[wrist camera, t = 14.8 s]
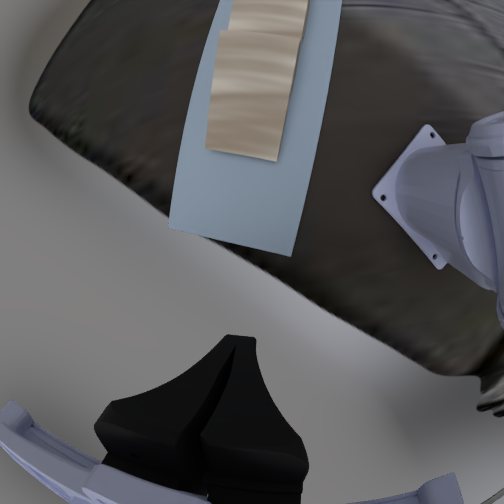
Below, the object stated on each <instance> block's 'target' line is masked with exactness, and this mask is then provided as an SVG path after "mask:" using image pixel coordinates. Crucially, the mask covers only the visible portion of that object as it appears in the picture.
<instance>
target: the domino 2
mask: <svg viewBox="0 0 504 504" xmlns="http://www.w3.org/2000/svg"><path fill="white" fill-rule="evenodd" d="M300 43H301V42H300V38H295V37H289V36H283V35H276V34H268V33H259V32H249V31H235V30H220V34H219V40H218V46H217V53H216V59H215V66H214V73H213V81H212V88H211V96H210V105H209V114H208V123H207V133H206V143H205V149H210V150H216V151H223V152H229V153H235V154H240V155H246V156H251V157H256V158H261V159H266V160H271V161H276V162H277V159H278V157H279V153H280V148H281V143H282V138H283V133H284V128H285V122H286V117H287V112H288V107H289V102H290V96H291V91H292V86H293V81H294V75H295V70H296V65H297V59H298V54H299V48H300Z"/></svg>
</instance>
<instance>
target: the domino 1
mask: <svg viewBox="0 0 504 504" xmlns="http://www.w3.org/2000/svg"><path fill="white" fill-rule="evenodd" d="M308 5H309V0H233V4H232V9H231V15H230V20H229V26H228V30H235V31H249V32H259V33H268V34H276V35H283V36H289V37H295V38H300V42H301V43H300V48H299V54H300V49H301V44H302V38H303V33H304V27H305V22H306V16H307V10H308ZM299 54H298V59H297V65H298V60H299ZM297 65H296V70H295V75H294V81H295V76H296V71H297ZM294 81H293V86H294ZM293 86H292V91H291V93H292V92H293Z"/></svg>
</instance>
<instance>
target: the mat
mask: <svg viewBox="0 0 504 504" xmlns="http://www.w3.org/2000/svg"><path fill="white" fill-rule="evenodd" d="M232 4H233V0H220V3H219V5H218V8H217V11H216V14H215V17H214V20H213V23H212V26H211V29H210V32H209V35H208V38H207V41H206V45H205V48H204V51H203V55H202V58H201V62H200V65H199V69H198V73H197V76H196V80H195V84H194V88H193V92H192V96H191V100H190V105H189V109H188V113H187V118H186V123H185V127H184V132H183V137H182V142H181V147H180V153H179V158H178V164H177V170H176V176H175V182H174V188H173V195H172V202H171V210H170V217H169V226H168V228H170V229H174V230H179V231H183V232H187V233H192V234H196V235H200V236H204V237H209V238H213V239H217V240H222V241H226V242H230V243H235V244H239V245H243V246H247V247H252V248H256V249H260V250H264V251H269V252H273V253H277V254H281V255H286V256H290V257H291V255H292V251H293V247H294V243H295V239H296V235H297V231H298V227H299V223H300V219H301V215H302V210H303V206H304V202H305V198H306V193H307V189H308V185H309V180H310V176H311V171H312V167H313V162H314V158H315V153H316V148H317V144H318V139H319V134H320V129H321V124H322V119H323V114H324V109H325V104H326V98H327V93H328V87H329V82H330V76H331V70H332V65H333V59H334V52H335V46H336V40H337V33H338V26H339V19H340V12H341V5H342V0H311V1H310V7H309V13H308V18H307V24H306V30H305V35H304V39H303V38H302V44H301V49H300V54H299V60H298V65H297V71H296V76H295V81H294V86H293V92H292V93H291V96H290V102H289V107H288V112H287V117H286V122H285V128H284V133H283V138H282V143H281V148H280V153H279V157H278V159H277V162H276V161H271V160H266V159H261V158H256V157H251V156H246V155H240V154H235V153H229V152H223V151H216V150H210V149H205V143H206V133H207V123H208V114H209V105H210V96H211V88H212V81H213V73H214V66H215V59H216V53H217V46H218V40H219V34H220V30H228V26H229V20H230V15H231V9H232Z"/></svg>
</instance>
